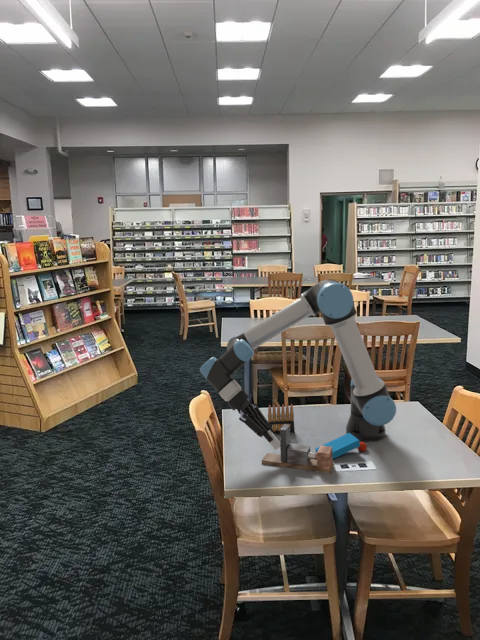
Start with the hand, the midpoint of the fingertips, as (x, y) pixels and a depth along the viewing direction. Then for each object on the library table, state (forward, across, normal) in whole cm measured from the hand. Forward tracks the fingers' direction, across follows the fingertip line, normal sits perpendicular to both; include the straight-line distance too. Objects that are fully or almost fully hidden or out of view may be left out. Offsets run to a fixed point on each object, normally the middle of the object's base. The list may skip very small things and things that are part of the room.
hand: (278, 447), depth 170 cm
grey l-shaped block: (+9, 0, +4) cm, 10 cm away
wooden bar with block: (+9, 0, +1) cm, 9 cm away
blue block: (+18, -13, +10) cm, 25 cm away
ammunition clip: (-1, -25, -9) cm, 27 cm away
